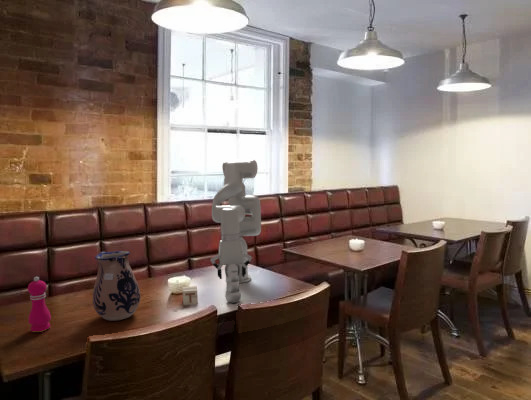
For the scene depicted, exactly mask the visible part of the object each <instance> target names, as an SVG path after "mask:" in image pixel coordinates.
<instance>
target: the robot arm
mask: <svg viewBox="0 0 531 400" xmlns="http://www.w3.org/2000/svg"><path fill="white" fill-rule="evenodd" d="M221 167H222V173H223V178H224V179H223V181H224V182H223V187H221V188H220V189H219V190H218V191H217V192H216V193H215V195H214V197H213V200H212V206H211V218H212V221H213V222H215V223H218V224H219V223H220V227H221V229H220V231H221V233H220V235H221V240H219V244H218V254H216V255H215V256H213V257H212V258H210V262H211V264H212V265H213V267H214V268H216V269H217V277H218V278H219V280H221V279H223V277H222V267H223V266H226V265H230V264H238V265H239V267H240V271H239V284H243V283H247V282H250V281H251V280H252V276H251V275H250V274H248V273H249V270H248V268H249V267H248V266H249V265H250V263H251V260H252V259H253V257H252V256H251V255H250V254H248V244H247V241H246V240H245V239H244V237H250V236H251V237H256V236H259V235H260V234H261V232H262V213H261V211H262V210H261V209H262V207H261V200H260V198H259V196H257V195H253V194H251V195H249V194H248V195H247V194H246V185H245V184H244V182H243V180H244V179H254V178H256V176H257V174H258V169H259V168H258V163H257V161H256V159H253V158H252V159H250V158H249V159H228V160H225V161H224V162H223V163H222V166H221ZM226 200H228V204H223V205H222V203H223V202H224V201H226ZM246 215H250V216H246ZM216 260H218V262H219V263H218V264H217V263H216Z"/></svg>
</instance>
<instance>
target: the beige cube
mask: <svg viewBox="0 0 531 400" xmlns="http://www.w3.org/2000/svg"><path fill="white" fill-rule="evenodd" d="M198 296H199V295H198V286H197V285H190V286H182V302H183V303H182V305H183V306H191V305H198V304H199V299H198Z"/></svg>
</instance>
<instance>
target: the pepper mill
mask: <svg viewBox="0 0 531 400" xmlns="http://www.w3.org/2000/svg"><path fill="white" fill-rule="evenodd" d="M47 287H48V285H47V283H46V282H45V281H43V280H40V276H34V277H33V281H31V282H30V283H29V284H28V286H27V291H28V293H29V294H30V295H29V298H30V300H31V309H30V313H29V315H28V323H29V324H30V325H31V326H30V332H31V331H42V330H45V329H48V328H49V327H50V328H51V323H50V320H51V319H52V316H51V312H50V309H48V307H47V305H46V300H45V299H46V297H47V293H46V290H47Z"/></svg>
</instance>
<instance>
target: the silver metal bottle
mask: <svg viewBox="0 0 531 400" xmlns="http://www.w3.org/2000/svg"><path fill="white" fill-rule="evenodd" d="M239 271H240V267H239V265H238V264H230V265H224V273H225V274H224V275H225V281H226V283H225V286H226V287H225V295H224V297H225V301H226V302H227V303H229V304H230V303H231V304H234V303H238V302H240V300H241V297H242V296H241V291H240V283H239Z"/></svg>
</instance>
